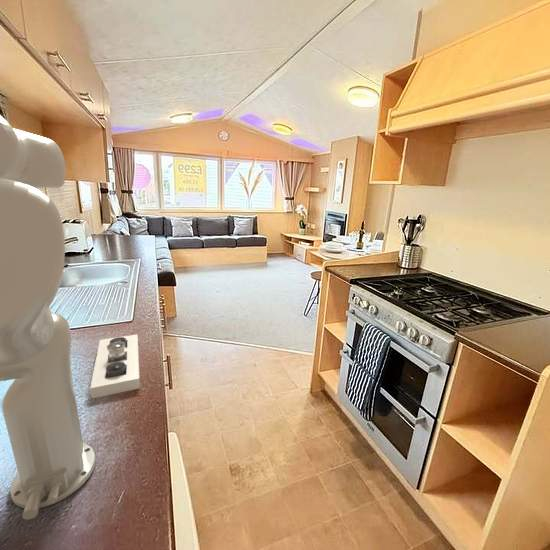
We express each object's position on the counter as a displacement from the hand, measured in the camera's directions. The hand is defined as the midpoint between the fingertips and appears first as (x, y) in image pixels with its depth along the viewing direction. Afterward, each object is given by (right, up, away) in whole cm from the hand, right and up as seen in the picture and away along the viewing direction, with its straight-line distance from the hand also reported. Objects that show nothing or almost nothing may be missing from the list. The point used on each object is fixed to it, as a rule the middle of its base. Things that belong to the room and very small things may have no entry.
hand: (35, 298), depth 65 cm
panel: (+6, -22, +23) cm, 32 cm away
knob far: (+3, -19, +30) cm, 35 cm away
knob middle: (+6, -19, +23) cm, 30 cm away
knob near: (+9, -23, +17) cm, 30 cm away
